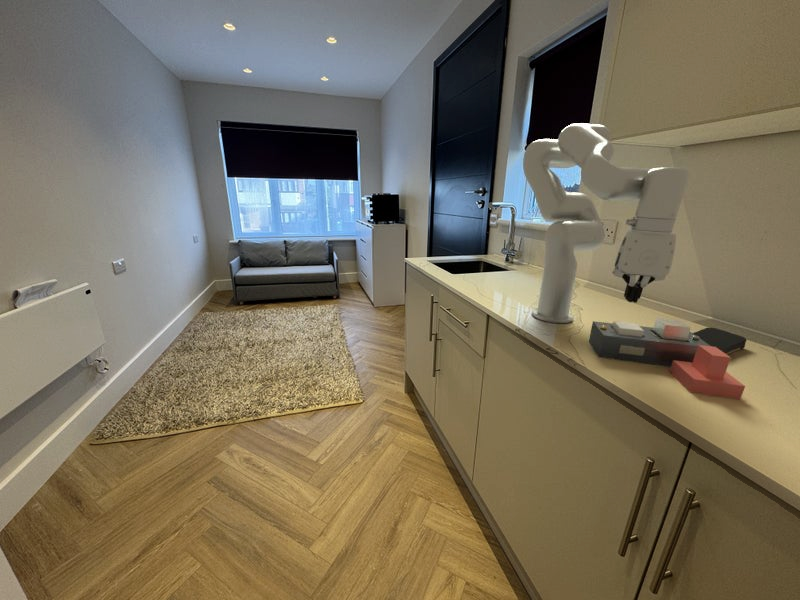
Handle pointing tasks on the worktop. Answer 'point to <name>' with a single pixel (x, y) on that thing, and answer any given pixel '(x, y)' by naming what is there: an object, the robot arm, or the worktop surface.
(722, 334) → the black sponge
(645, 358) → the panel
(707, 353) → the cap
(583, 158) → the robot arm
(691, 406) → the worktop surface
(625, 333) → the button
